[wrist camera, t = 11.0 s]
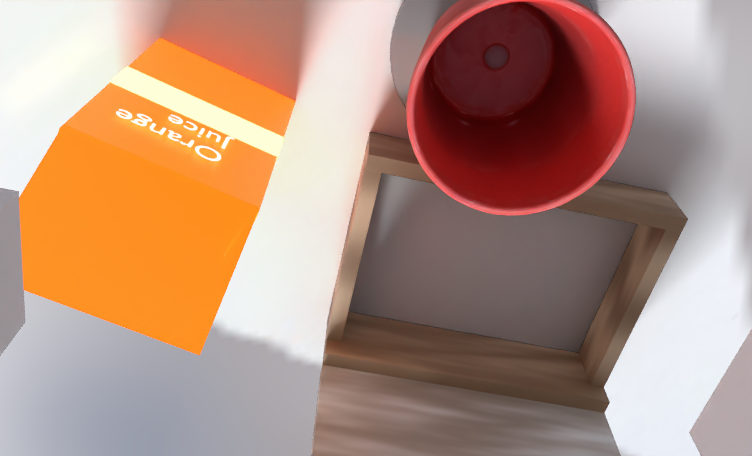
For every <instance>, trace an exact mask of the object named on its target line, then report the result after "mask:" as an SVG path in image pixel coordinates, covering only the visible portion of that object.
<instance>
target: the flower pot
mask: <svg viewBox="0 0 752 456" xmlns="http://www.w3.org/2000/svg"><path fill="white" fill-rule="evenodd" d="M635 104H636V87H635V80H634V74H633V69H632V66H631V62H630V59H629V57H628V54H627V52H626V50H625V48H624V46H623V44H622V42H621V40H620V39H619V37H618V36H617V34H616V33H615V32H614V30H613V29H612V28H611V27H610V26H609V24H608V23H607V22H606V21H605V20H604V19H603V18H602V17H601V16H599V15H598V14H597V13H596V12H595V11H593V10H592V9H590V8H589V7H587V6H586V5H584V4H582V3H580V2H579V1H577V0H459V1H458V2H456V3H455V4H453V5H452V6H451V7H450V8H449V9H448V10H447V11H446V12H445V13H444V14H443V15H442V16H441V17H440V19H439V20H438V21H437V23H436V24H435V26H434V27H433V29H432V30H431V32H430V34H429V36H428V38H427V40H426V42H425V44H424V46H423V49H422V51H421V54H420V56H419V58H418V61H417V63H416V66H415V68H414V71H413V74H412V78H411V81H410V85H409V90H408V95H407V105H406V121H407V129H408V134H409V138H410V142H411V145H412V148H413V151H414V153H415V155H416V157H417V159H418V162H419V163H420V165H421V166H422V168H423V169H424V171H425V172H426V174H427V175H428V176H429V177H430V179H431V180H432V181H433V182H434V183H435V184H436V185H437V186H438V187H439V188H440V189H441V190H442V191H443V192H444V193H446V194H447V195H448V196H450V197H451V198H453V199H454V200H456V201H458V202H460V203H462V204H464V205H466V206H468V207H471V208H473V209H476V210H479V211H482V212H486V213H491V214H497V215H527V214H533V213H538V212H542V211H546V210H549V209H552V208H555V207H558V206H560V205H563V204H565V203H567V202H569V201H570V200H572V199H574V198H576V197H577V196H579V195H581V194H582V193H584V192H585V191H586V190H588V189H589V188H590V187H592V186H593V185H594V184H595V183H596V182H597V181H598V180H599V179H600V178H601V177H602V176H604V174H605V173H606V172H607V171H608V170H609V169H610V167H611V166H612V165H613V163H614V162H615V160H616V159H617V157H618V156H619V154H620V152H621V151H622V149H623V147H624V145H625V143H626V141H627V138H628V136H629V133H630V129H631V126H632V122H633V118H634V112H635Z"/></svg>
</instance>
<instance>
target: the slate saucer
mask: <svg viewBox="0 0 752 456" xmlns="http://www.w3.org/2000/svg"><path fill="white" fill-rule="evenodd" d="M458 1H459V0H404V2H403V4H402V6H401V8H400V10H399V12H398V15H397V17H396V20H395V24H394V27H393V31H392V37H391V45H390V61H391V71H392V76H393V80H394V84H395V87H396V89H397V92H398V95H399V97H400V99H401V101H402V102H403V104H404V106H405V108H406V105H407V95H408V90H409V85H410V81H411V78H412V74H413V71H414V68H415V66H416V63H417V61H418V58H419V56H420V54H421V51H422V49H423V46H424V44H425V42H426V40H427V38H428V36H429V34H430V32H431V30H432V29H433V27H434V26H435V24H436V23H437V21H438V20H439V19H440V17H441V16H442V15H443V14H444V13H445V12H446V11H447V10H448V9H449V8H450V7H451V6H452V5H453V4H455V3H456V2H458ZM577 1H579V2H580V3H582V4H584V5H586V6H587V7H589V8H590V9H592V7H591V4H590V2H589V0H577ZM592 10H593V9H592Z"/></svg>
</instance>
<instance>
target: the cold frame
mask: <svg viewBox="0 0 752 456" xmlns="http://www.w3.org/2000/svg"><path fill="white" fill-rule="evenodd" d="M382 173H384V174H389V175H394V176H399V177H404V178H409V179H414V180H419V181H424V182H429V183H434V182H433V181H432V180H431V179H430V177H429V176H428V175H427V174H426V172H425V171H424V169H423V168H422V166H421V165H420V163H419V162H418V159H417V157H416V155H415V153H414V151H413V148H412V145H411V142H410V140H405V139H400V138H395V137H391V136H386V135H381V134H376V133H371V132H370V133H369V138H368V142H367V147H366V151H365V156H364V160H363V164H362V169H361V173H360V178H359V182H358V187H357V191H356V196H355V200H354V205H353V209H352V213H351V218H350V222H349V227H348V231H347V236H346V240H345V245H344V249H343V254H342V258H341V263H340V267H339V271H338V276H337V280H336V285H335V289H334V294H333V298H332V303H331V307H330V312H329V316H328V321H327V330H326V339H325V347H324V356H323V365H322V369H321V374H320V382H319V390H318V399H317V408H316V416H315V424H314V433H313V441H312V450H311V456H621V455H620V453H619V450H618V447H617V445H616V442H615V440H614V437H613V434H612V432H611V429H610V427H609V424H608V421H607V419H606V416H605V414H604V412H605V410H606V408H607V407H608V405H609V403H610V402H609V400H608V397H607V395H606V392H605V390H604V386H605V384H606V382H607V380H608V378H609V376H610V374H611V372H612V370H613V368H614V366H615V364H616V362H617V360H618V358H619V356H620V354H621V352H622V350H623V348H624V346H625V344H626V342H627V340H628V338H629V336H630V334H631V332H632V330H633V328H634V326H635V324H636V322H637V320H638V318H639V316H640V314H641V312H642V310H643V308H644V306H645V304H646V302H647V300H648V298H649V296H650V294H651V292H652V290H653V288H654V286H655V284H656V282H657V280H658V278H659V276H660V274H661V272H662V270H663V268H664V266H665V264H666V262H667V260H668V258H669V256H670V254H671V252H672V250H673V248H674V246H675V244H676V242H677V240H678V238H679V236H680V234H681V232H682V230H683V228H684V226H685V224H686V222H687V220H688V218H687V217H686V216H685V215H684V213H683V212H682V211H681V209H680V208H679V207H678V206H677V204H676V203H675V202H674V201H673V199H672V198H671V197H670V196H669V194H668V193H664V192H659V191H654V190H649V189H644V188H639V187H634V186H630V185H625V184H620V183H615V182H610V181H605V180H600V179H599V180H598V181H597V182H596V183H595V184H594V185H593V186H592V187H590V188H589V189H588V190H586V191H585V192H584V193H582V194H581V195H579V196H577V197H576V198H574V199H572V200H570V201H569V202H567V203H565V204H563V205H560V206H558V207H555V208H560V209H565V210H570V211H575V212H580V213H585V214H590V215H595V216H600V217H605V218H610V219H615V220H620V221H625V222H630V223H635V224H638V225H637V227H636V229H635V231H634V233H633V235H632V238H631V240H630V242H629V244H628V246H627V248H626V250H625V253H624V255H623V257H622V259H621V261H620V263H619V266H618V268H617V270H616V272H615V274H614V276H613V279H612V281H611V283H610V285H609V287H608V289H607V292H606V294H605V296H604V298H603V300H602V302H601V305H600V307H599V309H598V311H597V313H596V315H595V318H594V320H593V322H592V324H591V326H590V328H589V331H588V333H587V335H586V337H585V339H584V341H583V344H582V346H581V348H580V350H579V352H578V353H575V352H570V351H564V350H559V349H553V348H547V347H542V346H536V345H531V344H525V343H520V342H514V341H508V340H503V339H497V338H492V337H486V336H480V335H475V334H469V333H464V332H458V331H453V330H447V329H441V328H436V327H430V326H425V325H419V324H413V323H408V322H402V321H397V320H391V319H385V318H380V317H374V316H369V315H363V314H358V313H352V312H348V311H349V307H350V303H351V298H352V294H353V290H354V286H355V282H356V278H357V273H358V269H359V265H360V261H361V257H362V253H363V249H364V244H365V240H366V236H367V232H368V228H369V224H370V220H371V215H372V211H373V207H374V203H375V199H376V195H377V191H378V186H379V182H380V178H381V174H382ZM434 184H435V183H434Z"/></svg>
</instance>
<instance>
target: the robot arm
mask: <svg viewBox="0 0 752 456" xmlns="http://www.w3.org/2000/svg"><path fill="white" fill-rule="evenodd" d="M24 308H25V307H24V287H23V267H22V248H21V229H20V209H19V191H14V190H8V189H3V188H0V355H1V354H2V353H3V351H4V350H5V349H6V347H7V346H8V345H9V343H10V342H11V340H12V339H13V338H14V336H15V335H16V334H17V332H18V331H19V330H20V328H21V327H22V326H23V324H24V323H25V309H24ZM689 433H690V435H691V437H692V439H693V441H694V443H695V445H696V447H697V449H698V451H699V453H700V455H701V456H752V329H751V331H750V333H749V334H748V336H747V338H746V339H745V341H744V343H743V344H742V346H741V348H740V349H739V351H738V353H737V354H736V356H735V358H734V359H733V361H732V363H731V364H730V366H729V368H728V369H727V371H726V373H725V374H724V376H723V377H722V379H721V381H720V382H719V384H718V386H717V387H716V389H715V391H714V392H713V394H712V396H711V397H710V399H709V401H708V402H707V404H706V406H705V407H704V409H703V411H702V412H701V414H700V416H699V417H698V419H697V421H696V422H695V424H694V426H693V427H692V429H691V431H690V432H689Z"/></svg>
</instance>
